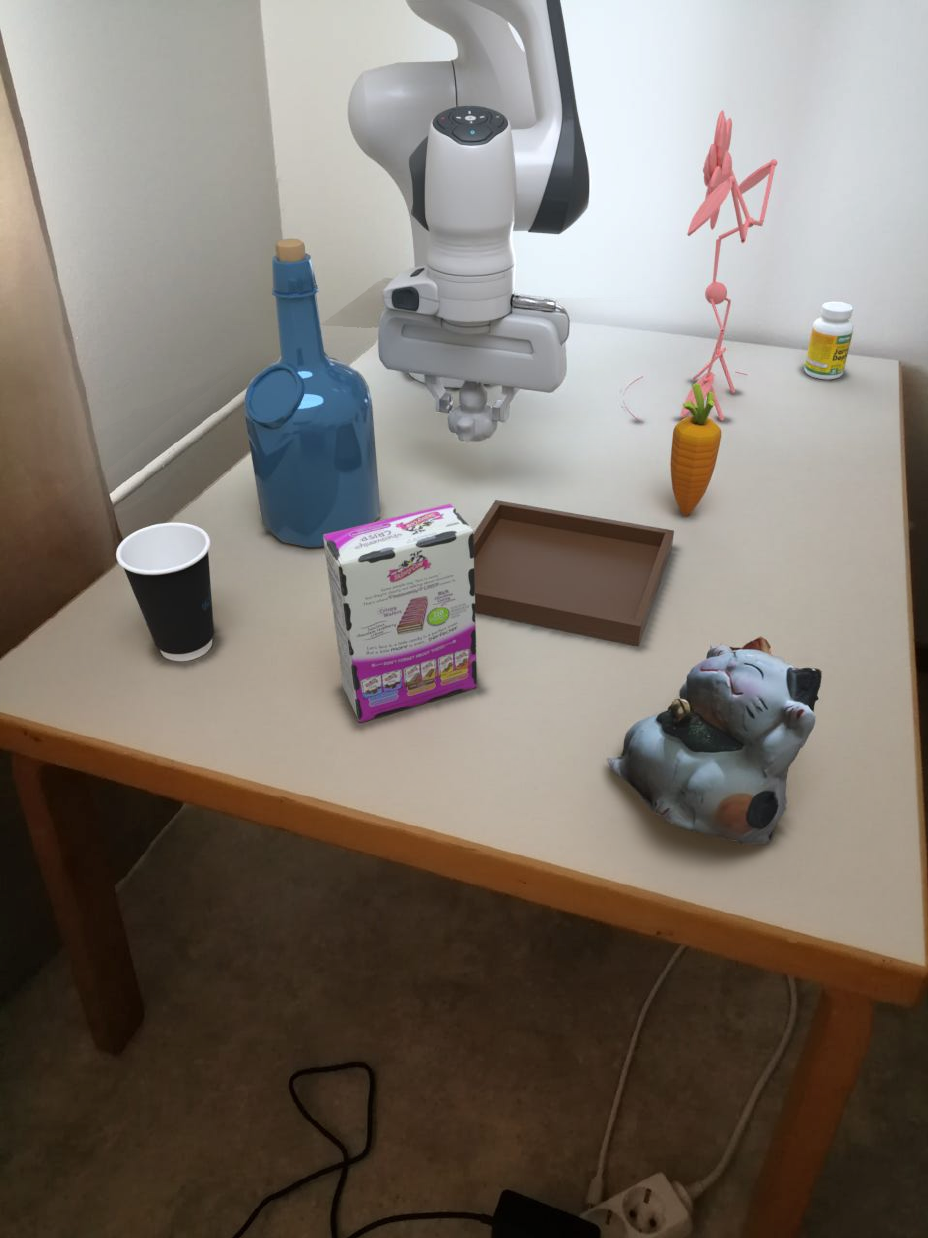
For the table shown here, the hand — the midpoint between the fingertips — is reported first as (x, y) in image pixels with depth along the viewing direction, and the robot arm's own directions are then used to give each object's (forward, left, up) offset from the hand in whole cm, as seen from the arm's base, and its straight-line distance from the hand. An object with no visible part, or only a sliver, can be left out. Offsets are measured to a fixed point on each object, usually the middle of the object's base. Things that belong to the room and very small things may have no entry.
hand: (471, 414), depth 107 cm
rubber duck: (0, 0, -3) cm, 3 cm away
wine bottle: (+12, -14, -10) cm, 20 cm away
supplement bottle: (-47, +36, -10) cm, 61 cm away
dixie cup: (+36, -16, -10) cm, 40 cm away
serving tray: (+14, +14, -10) cm, 22 cm away
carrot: (-2, +24, -10) cm, 26 cm away
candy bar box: (+35, +6, -10) cm, 36 cm away
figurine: (-32, +18, -10) cm, 38 cm away
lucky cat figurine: (+38, +32, -10) cm, 50 cm away
